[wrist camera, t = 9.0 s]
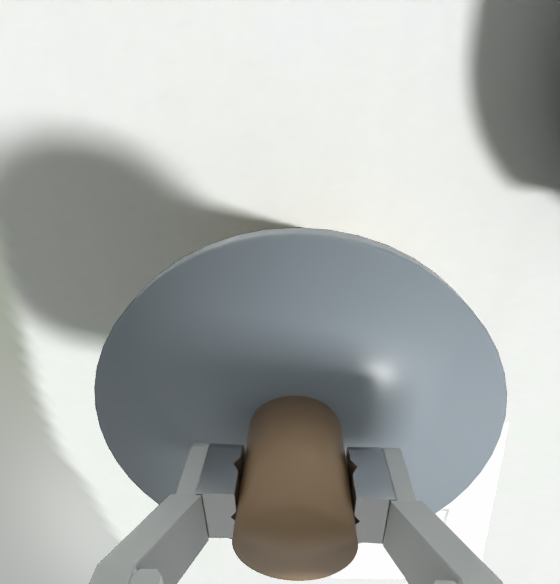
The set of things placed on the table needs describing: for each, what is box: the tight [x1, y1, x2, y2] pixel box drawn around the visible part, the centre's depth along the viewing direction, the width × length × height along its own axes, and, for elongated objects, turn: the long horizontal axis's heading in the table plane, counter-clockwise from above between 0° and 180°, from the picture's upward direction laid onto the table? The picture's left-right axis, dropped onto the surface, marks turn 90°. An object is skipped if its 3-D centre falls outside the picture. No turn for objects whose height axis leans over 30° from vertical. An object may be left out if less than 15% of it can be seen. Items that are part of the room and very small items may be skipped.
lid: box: [94, 228, 507, 581], centre depth 11 cm, size 13×13×4 cm
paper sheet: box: [330, 421, 510, 579], centre depth 33 cm, size 24×29×1 cm
